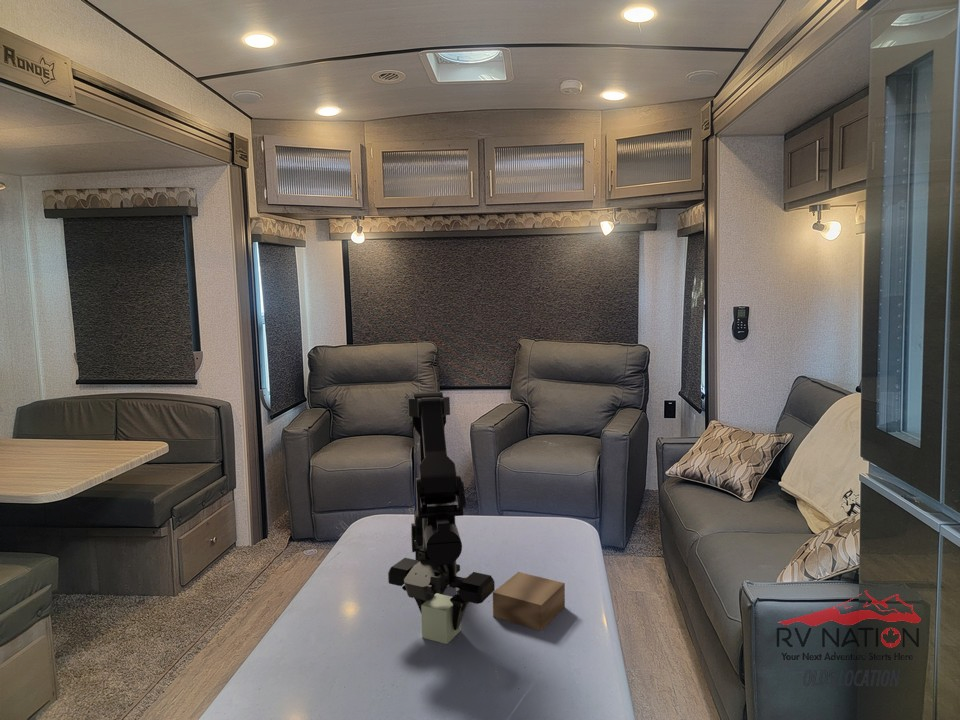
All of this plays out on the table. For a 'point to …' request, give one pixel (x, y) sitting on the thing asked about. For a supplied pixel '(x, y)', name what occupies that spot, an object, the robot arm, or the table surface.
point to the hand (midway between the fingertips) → (441, 625)
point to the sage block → (438, 619)
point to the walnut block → (529, 600)
